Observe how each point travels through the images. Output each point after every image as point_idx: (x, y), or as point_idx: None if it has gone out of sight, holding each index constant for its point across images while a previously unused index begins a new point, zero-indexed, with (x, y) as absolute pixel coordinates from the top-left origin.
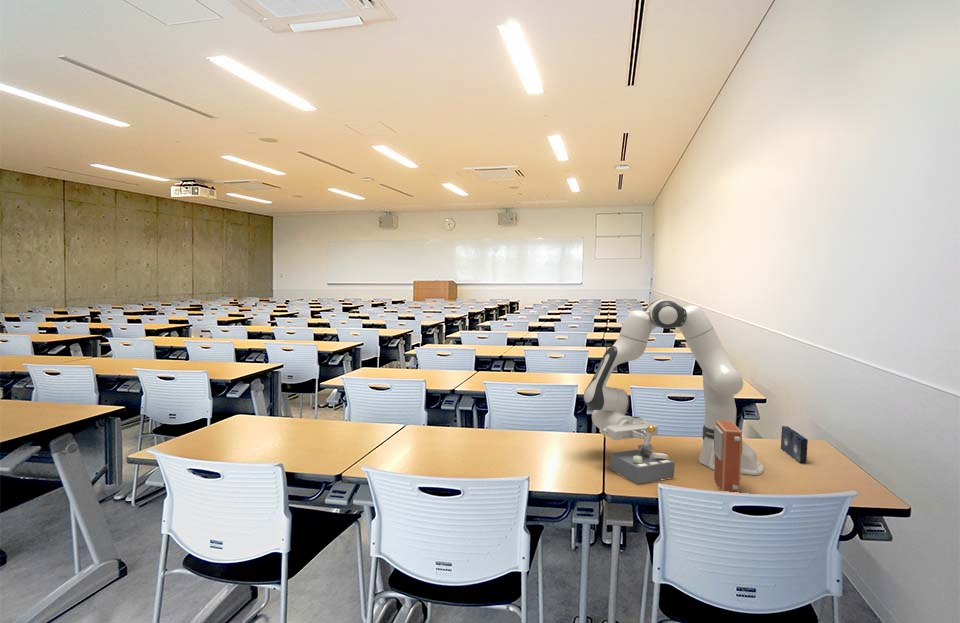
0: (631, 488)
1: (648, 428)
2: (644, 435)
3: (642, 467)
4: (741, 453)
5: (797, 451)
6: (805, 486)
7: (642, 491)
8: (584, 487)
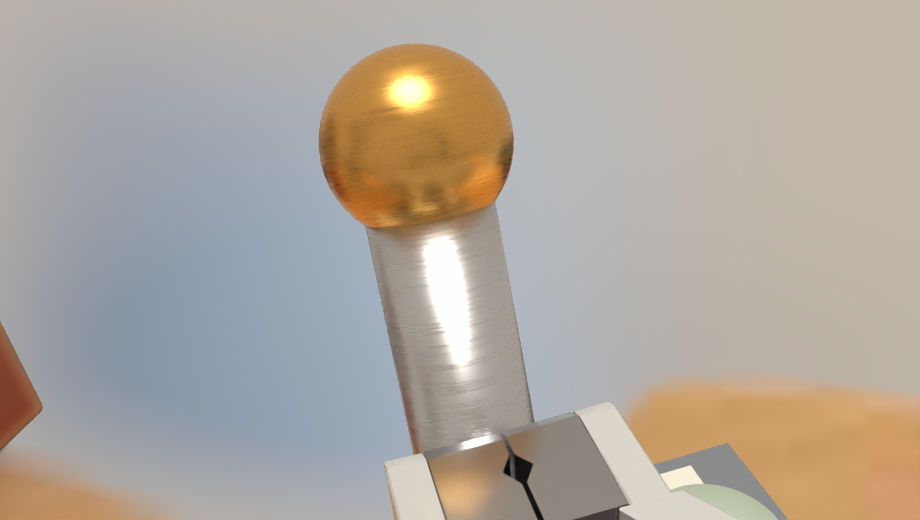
0: (786, 500)
1: (501, 97)
2: (537, 428)
3: (662, 465)
4: None
5: None
6: None
7: (685, 444)
8: None
